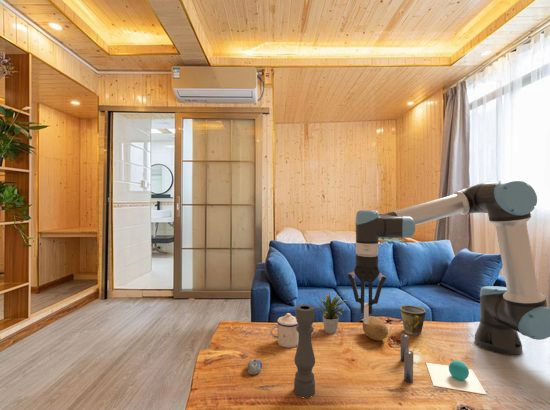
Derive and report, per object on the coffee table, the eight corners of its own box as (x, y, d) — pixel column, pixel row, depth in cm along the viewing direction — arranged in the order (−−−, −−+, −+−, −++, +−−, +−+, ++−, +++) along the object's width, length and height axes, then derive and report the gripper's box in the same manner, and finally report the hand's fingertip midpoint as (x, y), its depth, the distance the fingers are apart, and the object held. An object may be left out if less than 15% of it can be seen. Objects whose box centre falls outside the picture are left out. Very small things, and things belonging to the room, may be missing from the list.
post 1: (408, 359, 109) (408, 334, 109) (408, 363, 107) (409, 337, 107) (400, 358, 110) (400, 333, 110) (400, 362, 107) (401, 336, 107)
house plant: (340, 342, 122) (340, 301, 122) (308, 334, 129) (309, 296, 129) (351, 330, 134) (351, 292, 134) (322, 323, 141) (322, 288, 141)
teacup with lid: (295, 336, 127) (296, 308, 127) (302, 346, 118) (303, 317, 118) (267, 339, 124) (267, 311, 124) (272, 350, 116) (272, 319, 115)
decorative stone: (248, 360, 106) (261, 355, 105) (252, 372, 105) (265, 367, 104) (242, 365, 100) (256, 360, 99) (246, 379, 98) (260, 373, 98)
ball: (467, 360, 99) (448, 355, 101) (472, 369, 94) (452, 363, 95) (464, 376, 99) (445, 370, 101) (469, 386, 94) (449, 380, 96)
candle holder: (292, 385, 93) (293, 304, 93) (312, 384, 94) (313, 303, 93) (295, 398, 87) (296, 311, 87) (317, 397, 88) (317, 311, 87)
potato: (378, 330, 134) (379, 312, 134) (393, 345, 120) (394, 325, 120) (357, 331, 133) (357, 313, 133) (369, 346, 119) (369, 326, 119)
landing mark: (471, 369, 103) (471, 369, 103) (486, 395, 89) (486, 394, 89) (425, 363, 107) (425, 362, 107) (433, 386, 93) (433, 385, 93)
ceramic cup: (397, 326, 138) (397, 304, 138) (420, 327, 137) (421, 305, 137) (405, 339, 125) (405, 315, 125) (431, 341, 124) (431, 316, 124)
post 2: (412, 379, 97) (412, 350, 97) (413, 383, 95) (413, 354, 95) (403, 377, 98) (403, 349, 98) (404, 382, 95) (404, 353, 95)
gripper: (346, 255, 104) (346, 324, 104) (387, 257, 100) (386, 329, 100) (348, 252, 111) (347, 316, 112) (386, 254, 107) (385, 320, 108)
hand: (366, 322), depth 106 cm, fingers closed
